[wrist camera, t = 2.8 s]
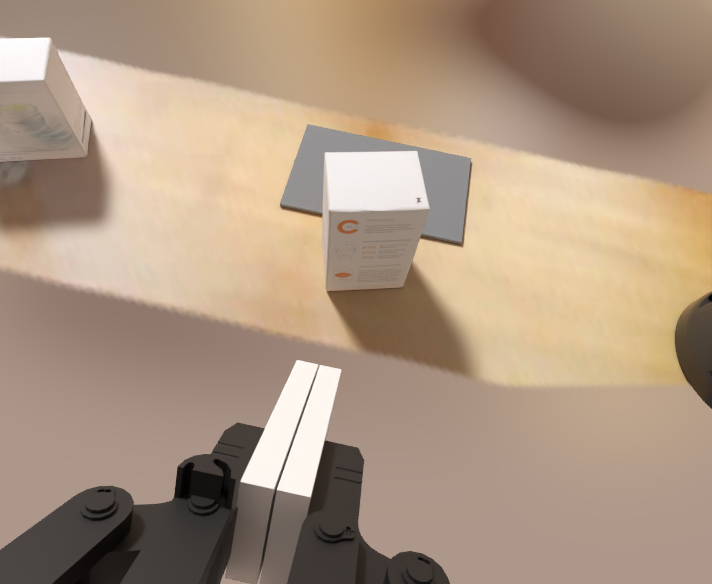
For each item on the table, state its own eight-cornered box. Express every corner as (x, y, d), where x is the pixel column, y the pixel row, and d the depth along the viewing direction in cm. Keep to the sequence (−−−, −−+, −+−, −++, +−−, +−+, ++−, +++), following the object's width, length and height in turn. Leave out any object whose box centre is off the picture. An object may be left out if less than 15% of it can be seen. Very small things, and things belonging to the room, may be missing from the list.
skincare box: (-16, 166, 52) (-86, 83, 43) (-6, 123, 55) (-69, 36, 46) (88, 159, 54) (42, 78, 45) (93, 118, 57) (51, 33, 48)
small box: (395, 237, 52) (419, 148, 41) (404, 288, 49) (432, 209, 38) (320, 239, 51) (323, 150, 40) (324, 292, 49) (328, 212, 37)
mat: (470, 160, 59) (471, 158, 58) (460, 244, 53) (461, 242, 52) (307, 126, 59) (307, 124, 59) (280, 206, 53) (280, 203, 53)
